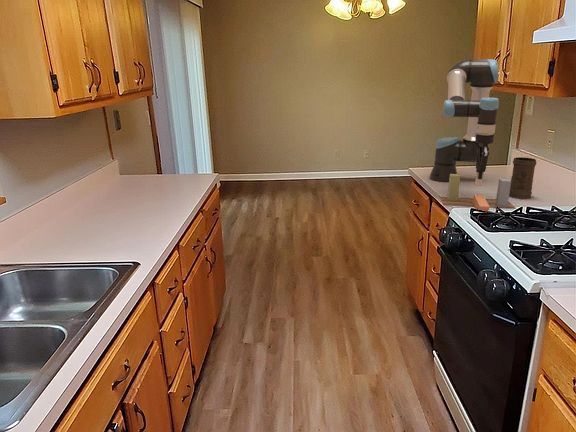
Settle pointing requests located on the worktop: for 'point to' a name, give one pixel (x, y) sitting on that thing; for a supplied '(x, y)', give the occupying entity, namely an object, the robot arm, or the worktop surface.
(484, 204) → the terracotta pillar
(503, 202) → the slate pillar
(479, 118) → the robot arm
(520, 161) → the beer stein
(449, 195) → the olive pillar
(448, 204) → the walnut board
